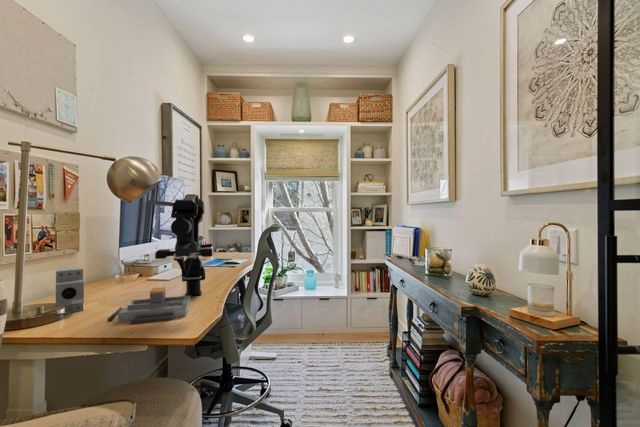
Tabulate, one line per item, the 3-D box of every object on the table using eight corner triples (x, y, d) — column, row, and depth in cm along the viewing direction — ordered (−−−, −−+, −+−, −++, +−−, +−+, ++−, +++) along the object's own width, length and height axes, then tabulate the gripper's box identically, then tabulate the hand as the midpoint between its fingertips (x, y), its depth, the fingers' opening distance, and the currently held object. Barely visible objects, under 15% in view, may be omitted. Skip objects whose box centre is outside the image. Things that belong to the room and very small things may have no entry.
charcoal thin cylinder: (129, 324, 98) (129, 320, 98) (130, 323, 99) (130, 319, 99) (171, 320, 102) (171, 316, 102) (172, 319, 103) (172, 315, 103)
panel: (132, 308, 115) (132, 297, 115) (190, 303, 121) (190, 292, 121) (118, 322, 100) (118, 309, 100) (186, 315, 106) (185, 304, 106)
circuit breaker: (55, 319, 103) (55, 274, 103) (56, 309, 114) (56, 268, 114) (84, 314, 108) (83, 271, 108) (82, 305, 119) (82, 266, 119)
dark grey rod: (119, 310, 112) (119, 307, 112) (123, 310, 112) (123, 307, 112) (107, 321, 101) (107, 317, 101) (111, 321, 101) (111, 317, 101)
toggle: (153, 301, 112) (153, 288, 112) (165, 300, 113) (165, 287, 113) (150, 305, 107) (149, 291, 107) (162, 303, 109) (162, 290, 109)
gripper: (151, 236, 103) (151, 283, 103) (211, 234, 108) (211, 279, 108) (158, 234, 113) (158, 276, 113) (212, 232, 119) (212, 273, 119)
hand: (185, 276), depth 113 cm, fingers closed
